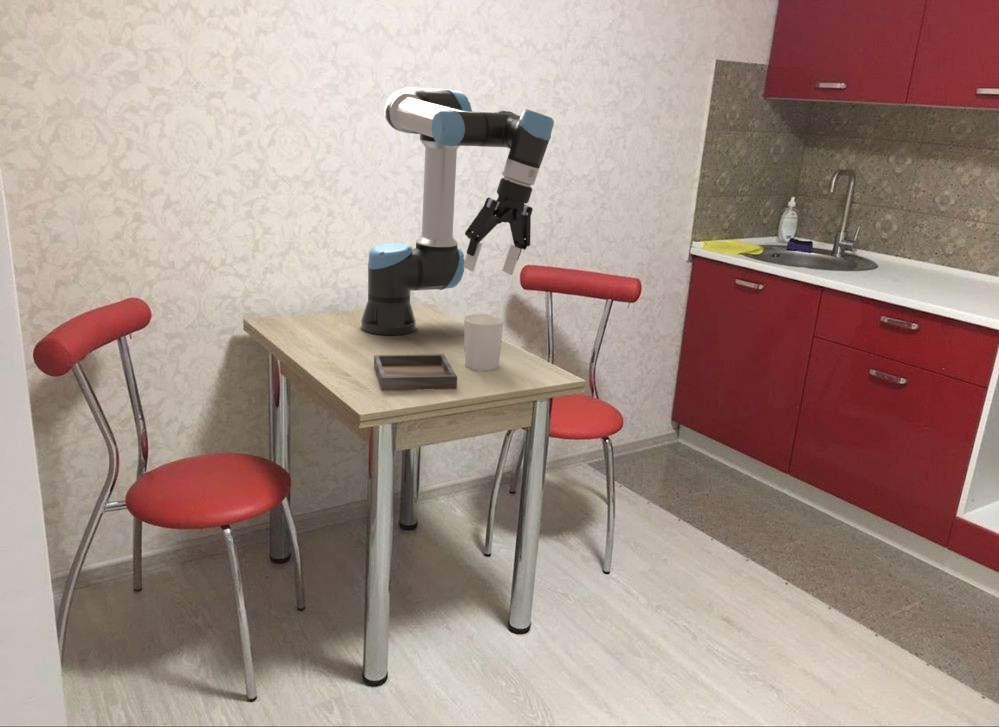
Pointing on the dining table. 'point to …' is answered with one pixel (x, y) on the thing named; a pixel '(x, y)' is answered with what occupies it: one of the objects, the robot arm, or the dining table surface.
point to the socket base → (414, 372)
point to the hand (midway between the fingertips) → (488, 271)
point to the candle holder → (482, 341)
